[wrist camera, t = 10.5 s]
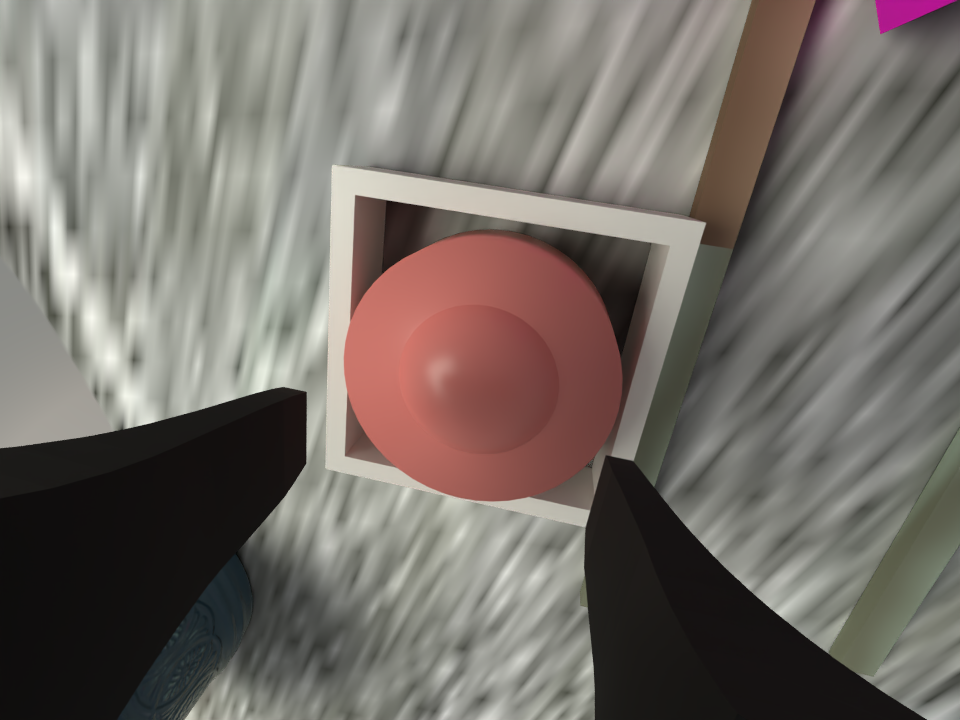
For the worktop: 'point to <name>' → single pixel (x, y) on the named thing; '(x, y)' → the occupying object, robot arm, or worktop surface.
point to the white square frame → (368, 189)
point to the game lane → (721, 205)
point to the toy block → (904, 11)
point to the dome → (484, 366)
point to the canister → (196, 649)
